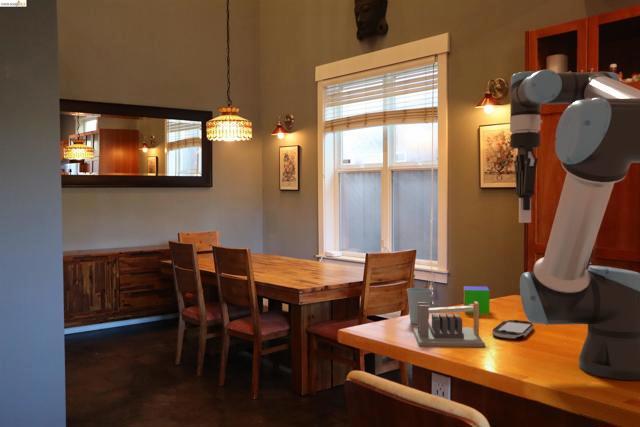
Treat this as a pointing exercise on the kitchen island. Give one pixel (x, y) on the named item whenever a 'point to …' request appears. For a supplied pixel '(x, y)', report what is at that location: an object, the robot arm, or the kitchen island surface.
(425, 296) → the cup
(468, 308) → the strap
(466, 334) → the grey slotted rack
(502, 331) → the gaming console
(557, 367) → the kitchen island surface
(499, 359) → the kitchen island surface
